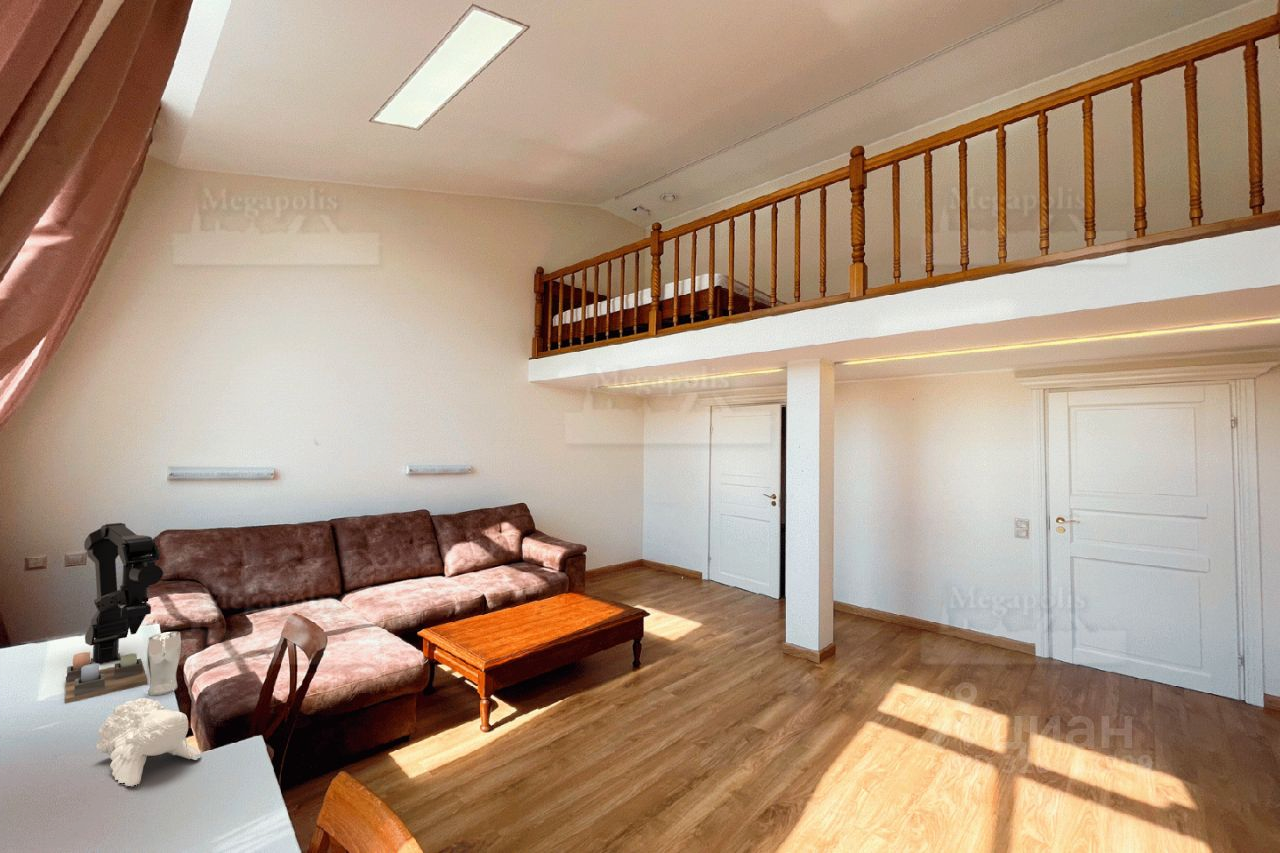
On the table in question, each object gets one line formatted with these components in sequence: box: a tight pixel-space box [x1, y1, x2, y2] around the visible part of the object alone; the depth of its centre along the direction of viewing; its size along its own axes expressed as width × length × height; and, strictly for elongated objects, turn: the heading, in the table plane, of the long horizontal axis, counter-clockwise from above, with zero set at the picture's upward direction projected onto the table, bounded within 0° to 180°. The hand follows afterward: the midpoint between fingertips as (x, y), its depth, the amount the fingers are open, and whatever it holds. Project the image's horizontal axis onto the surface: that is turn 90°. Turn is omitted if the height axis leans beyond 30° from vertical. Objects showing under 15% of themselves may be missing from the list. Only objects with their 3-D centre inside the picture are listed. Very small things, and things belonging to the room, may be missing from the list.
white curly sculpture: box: [96, 697, 201, 787], centre depth 116 cm, size 13×12×20 cm
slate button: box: [81, 663, 100, 683], centre depth 147 cm, size 3×3×4 cm
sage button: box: [120, 653, 138, 667], centre depth 157 cm, size 3×3×4 cm
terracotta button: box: [72, 651, 91, 671], centre depth 155 cm, size 3×3×4 cm
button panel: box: [64, 658, 149, 704], centre depth 154 cm, size 19×16×4 cm
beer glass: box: [146, 631, 182, 697], centre depth 149 cm, size 7×7×15 cm
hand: (133, 633), depth 160 cm, fingers closed
